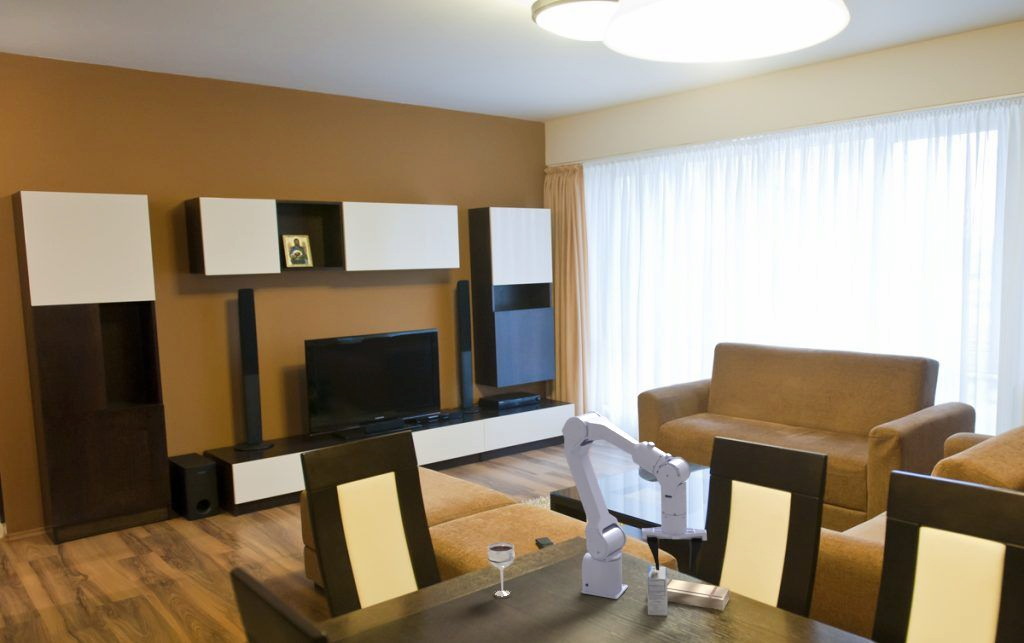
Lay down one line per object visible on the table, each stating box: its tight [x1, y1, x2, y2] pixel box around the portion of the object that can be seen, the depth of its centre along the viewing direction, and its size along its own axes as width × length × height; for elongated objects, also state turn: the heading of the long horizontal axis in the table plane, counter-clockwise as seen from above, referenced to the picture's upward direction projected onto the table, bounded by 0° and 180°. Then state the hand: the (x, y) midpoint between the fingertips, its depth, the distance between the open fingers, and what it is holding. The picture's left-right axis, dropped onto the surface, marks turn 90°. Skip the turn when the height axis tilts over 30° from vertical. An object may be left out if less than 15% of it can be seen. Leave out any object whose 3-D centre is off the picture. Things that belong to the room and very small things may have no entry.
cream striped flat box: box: [667, 578, 730, 611], centre depth 183 cm, size 18×7×3 cm, turn 63°
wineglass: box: [487, 541, 516, 597], centre depth 188 cm, size 7×7×12 cm
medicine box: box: [646, 565, 668, 617], centre depth 178 cm, size 8×4×9 cm, turn 168°
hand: (674, 569), depth 177 cm, fingers open, 7 cm apart
